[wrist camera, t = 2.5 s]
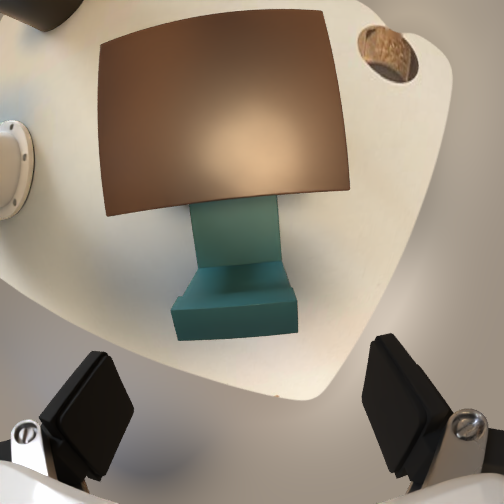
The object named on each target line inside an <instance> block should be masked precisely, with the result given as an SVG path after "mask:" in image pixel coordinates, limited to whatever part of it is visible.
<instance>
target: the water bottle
mask: <svg viewBox="0 0 504 504" xmlns="http://www.w3.org/2000/svg"><path fill="white" fill-rule="evenodd" d="M82 1H83V0H0V13H2V14H5V15H7V16H9V17H12V18H14V19H16V20H19V21H21V22H23V23H25V24H27V25H30V26H32V27H34V28H36V29H38V30H40V31H43V32H45V31H49V30H52V29H54V28H56V27H57V26H59V25H60V24H62V23H63V22H64V21H65V20H67V19H68V18H69V17H70V16H71V15H72V14H73V13H74V12H75V11H76V9H77V8H78V7H79V6H80V4H81V3H82Z"/></svg>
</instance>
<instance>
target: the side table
mask: <svg viewBox="0 0 504 504" xmlns="http://www.w3.org/2000/svg"><path fill="white" fill-rule="evenodd" d="M98 141H99V156H100V168H101V179H102V188H103V196H104V203H105V210H106V216H107V217H109V216H115V215H121V214H127V213H133V212H139V211H145V210H152V209H159V208H166V207H173V206H180V205H188V204H195V203H203V202H212V201H220V200H230V199H239V198H249V197H260V196H271V195H283V194H296V193H311V192H328V191H348V190H350V180H349V166H348V155H347V145H346V135H345V127H344V119H343V112H342V105H341V98H340V92H339V86H338V80H337V74H336V69H335V64H334V59H333V54H332V49H331V45H330V40H329V36H328V32H327V28H326V24H325V20H324V16H323V12H322V11H319V10H301V9H264V10H247V11H235V12H226V13H218V14H211V15H204V16H198V17H193V18H188V19H183V20H178V21H174V22H169V23H165V24H161V25H157V26H154V27H150V28H147V29H143V30H140V31H137V32H134V33H131V34H128V35H125V36H122V37H119V38H116V39H113V40H111V41H108V42H106V43H103V44H101V45H100V56H99V71H98Z"/></svg>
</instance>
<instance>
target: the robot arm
mask: <svg viewBox="0 0 504 504" xmlns="http://www.w3.org/2000/svg"><path fill="white" fill-rule="evenodd" d="M33 165H34V153H33V144H32V140H31V136H30V134H29V132H28V129H27V128H26V127H25V126H24V124H22V123H21V122H19V121H14V120H8V121H5V122H3V123H1V124H0V219H7V218H10V217H12V216H14V215H15V214H17V212H18V211H19V210H20V209H21V207H22V206H23V204H24V202H25V200H26V198H27V195H28V193H29V189H30V185H31V181H32V175H33ZM362 403H363V406H364V408H365V411H366V413H367V416H368V418H369V421H370V423H371V426H372V428H373V430H374V433H375V436H376V438H377V441H378V443H379V446H380V448H381V451H382V454H383V456H384V459H385V462H386V464H387V467H388V469H389V471H390V472H391V473H395V475H396V478H400V477H403V476H406V475H408V477H409V479H410V481H411V483H410V485H409V488H408V490H407V492H406V494H405V495H402V496H399V497H396V498H394V499H390V500H387V501H384V502H381V503H377V504H504V431H503V430H497V429H491V428H488V422H487V419H486V417H485V416H484V415H483V414H482V413H480V412H479V411H477V410H474V409H462V410H459V411H457V412H455V413H453V412H452V410H451V409H450V407H449V406H448V404H447V403H446V401H445V400H444V399H443V397H442V396H441V394H440V393H439V392H438V391H437V389H436V387H435V386H434V385H433V384H432V382H431V381H430V379H429V378H428V377H427V375H426V374H425V373H424V371H423V370H422V369H421V367H420V366H419V365H418V364H416V363H415V362H414V360H413V359H412V358H411V356H410V355H409V354H408V353H407V351H406V350H405V348H404V347H403V346H402V345H401V343H400V342H399V341H398V340H397V338H396V337H395V336H394V335H393V334H392V333H390V334H385V335H380V336H377V337H376V338H375V341H372V342H371V345H370V351H369V358H368V365H367V370H366V376H365V382H364V387H363V392H362ZM133 413H134V407H133V405H132V402H131V400H130V398H129V396H128V394H127V392H126V390H125V388H124V386H123V383H122V381H121V379H120V377H119V374H118V372H117V370H116V367H115V365H114V362H113V360H112V358H111V357H110V356H108V354H107V353H106V352H100V351H92V352H90V353H89V355H88V356H87V357H86V358H85V359H84V361H83V362H82V363H81V364H80V365H79V367H78V368H77V369H76V370H75V371H74V373H73V374H72V375H71V376H70V378H69V379H68V380H67V381H66V383H65V384H64V385H63V386H62V388H61V389H60V390H59V392H58V393H57V394H56V395H55V397H54V398H53V399H52V400H51V402H50V403H49V404H48V406H47V407H46V408H45V410H44V411H43V412H42V414H41V415H40V416H39V419H40V420H41V422H42V425H41V426H40V425H39V424H38V422H36V421H34V420H31V419H27V420H23V421H21V422H19V423H18V424H16V425H15V427H14V428H13V430H12V432H11V439H10V440H7V441H3V442H0V504H119V503H116V502H112V501H109V500H106V499H103V498H100V497H97V496H94V495H92V494H90V493H89V490H88V488H87V485H86V482H85V477H86V476H87V477H88V478H91V479H93V480H97V481H101V478H102V476H104V475H106V473H107V471H108V469H109V466H110V464H111V462H112V459H113V457H114V455H115V452H116V450H117V448H118V446H119V443H120V442H121V439H122V437H123V435H124V433H125V431H126V428H127V426H128V424H129V422H130V420H131V417H132V415H133Z"/></svg>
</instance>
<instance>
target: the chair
mask: <svg viewBox="0 0 504 504" xmlns="http://www.w3.org/2000/svg"><path fill="white" fill-rule="evenodd" d="M189 207H190V215H191V222H192V230H193V237H194V244H195V250H196V257H197V263H198V270H197V271H196V273H195V275H194V277H193V278H192V280H191V282H190V284H189V285H188V287H187V289H186V291H185V293H184V294H183V296H180V297H178V298H177V300H176V301H175V303H174V305H173V306H172V308H171V314H172V318H173V323H174V327H175V331H176V334H177V338H178V341H188V340H214V339H232V338H247V337H259V336H270V335H280V334H290V333H298V308H297V298H296V296H295V293H294V290H293V287H291V286H290V283H289V280H288V277H287V274H286V272H285V269H284V266H283V263H282V257H281V243H280V229H279V217H278V205H277V195H271V196H260V197H249V198H239V199H230V200H220V201H212V202H203V203H195V204H189Z"/></svg>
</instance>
